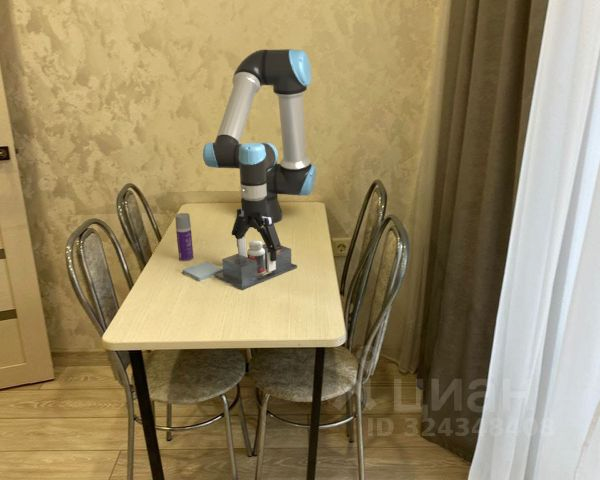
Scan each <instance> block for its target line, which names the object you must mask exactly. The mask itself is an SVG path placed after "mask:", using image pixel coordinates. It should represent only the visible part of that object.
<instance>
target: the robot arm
mask: <svg viewBox="0 0 600 480" xmlns="http://www.w3.org/2000/svg"><path fill="white" fill-rule="evenodd" d="M311 68H312V67H311V61H310V58H309V56H308V53H306V51H305V50H302V49H293V48H288V49H287V48H286V49H281V48H280V49H259V50H256V51H253V52H252V53H250V54H248V56H246V57H245V58H244V59H243V60H242V61H241V62H240V64H239V65H238V66H237V67H236V70H235V71H234V74H233V77H232V79H231V80H232V84H233V85H232V90H231V93H230V96H229V98H228V101H227V105H226V108H225V110H224V115H223V117H222V120H221V123H220V126H219V129H218V132H217V135H216V138H215V140H214V142H207V143H206V144H205V145H204V147H203V149H202V158H203V161H204V164H205V165H206V166H207V167H209V168H216V169H217V168H218V169H239V178H240V179H239V181H240V196H241V199H240V203H241V204H240V206H241V208H239V209H236V218H235V220H234V224H233V226H232V229H231V230H232V231H231V235H232V236H234V238H235V239H236V247H237V254H240V255H243V256H245V257H247V238H246V234H247V232H248V231H249V229H251V228H253V229H254V230H256V232H257V233H259V234H260V236H261V239H263V242H264V244H266V246H267V248H268V251H267V269H266V272H267V273H271V271H273V270H275V269H276V251H277V250H280V249H281V248H282V247H281V241H280V238H279V236H278V235H279V234H278V233H277V229H276V227H275V224H276V223H278V222H280V221H282V220H283V210H282V208H281V204H280V202H279V198H278V197H279V196H278V195H287V196H289V195H290V196H298V197H301V196H310V195H311V194H312V192H313V191H314V188H315V182H316V177H317V166H316V165H315V164H312V161H311V160H312V159H311V158H310V157H309V156H307V144H306V143H307V142H306V128H305V127H306V124H305V109H304V94H305V93H306V91H307V89H308V86H310V85H311V83H312V69H311ZM263 86H270V87H271V86H272V91H273V93H274V94H275V95H276V96H277V98H278V107H279V108H278V110H279V122H280V131H281V132H280V133H281V143H282V155H283V156H282V157H283V158H281V159H280V161H279V163H278V161H277V160H278V158H279V152H278V150H277V149H278V148H276V146H275V145H274V144H273V143H272V142H271V143H270V142H246V143H241V141H242V136H243V134H244V130H245V127H246V124H247V121H248V117H249V114H250V111H251V108H252V105H253V102H254V99H255V96H256V94H257V93H258V92H259V91H260V89H261V87H263ZM274 223H275V224H274ZM271 246H272V247H271ZM247 258H248V257H247Z"/></svg>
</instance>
